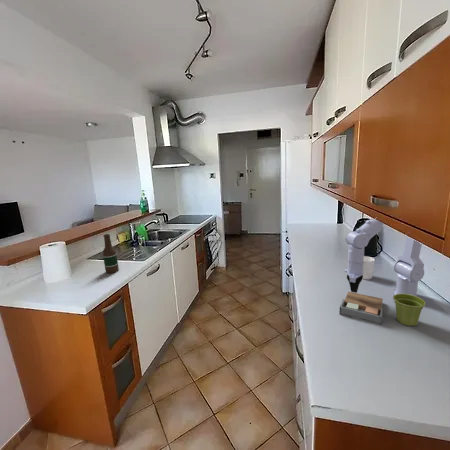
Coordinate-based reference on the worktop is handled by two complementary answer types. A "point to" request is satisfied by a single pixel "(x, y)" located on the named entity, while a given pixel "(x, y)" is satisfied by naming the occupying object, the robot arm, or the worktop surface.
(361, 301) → the board
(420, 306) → the plant pot
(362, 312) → the tray
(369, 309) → the tile terracotta
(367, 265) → the white cup
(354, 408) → the worktop surface
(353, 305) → the tile sage
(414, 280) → the robot arm
